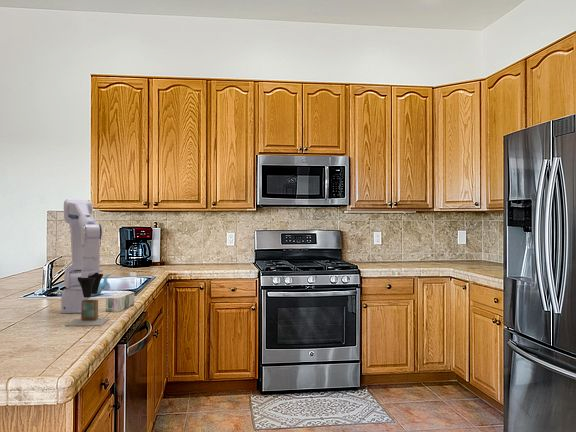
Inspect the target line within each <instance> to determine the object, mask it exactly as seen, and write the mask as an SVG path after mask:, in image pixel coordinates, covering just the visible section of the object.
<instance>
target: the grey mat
mask: <svg viewBox="0 0 576 432" xmlns="http://www.w3.org/2000/svg"><path fill="white" fill-rule="evenodd" d="M109 320H110V318H98V319H97V320H95V321H81V318H74V319H73V320H70V321H69V322H67V323H66V324H64V327H96V326H97V327H99V326H101V327H102V326H103V325H104V324H105V323H107V322H108V321H109Z"/></svg>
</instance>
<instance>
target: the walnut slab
mask: <svg viewBox="0 0 576 432" xmlns="http://www.w3.org/2000/svg"><path fill="white" fill-rule="evenodd" d="M80 315H81V317H80V319H81V321H95V320H97V319H99V299H88V300H82V303H81V313H80Z"/></svg>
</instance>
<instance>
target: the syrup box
mask: <svg viewBox="0 0 576 432" xmlns="http://www.w3.org/2000/svg"><path fill="white" fill-rule="evenodd" d="M134 305H135V291H121V292H120V291H119V292H118V293H115V294H112V295H108V296H106V297H105V312H113V313H114V312H117V313H119V312H121V311H124V310H126V309H128V308H131V307H134Z"/></svg>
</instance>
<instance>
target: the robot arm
mask: <svg viewBox="0 0 576 432" xmlns="http://www.w3.org/2000/svg"><path fill="white" fill-rule="evenodd" d="M92 213H93V202H92V201H91V200H90V199H88V200H87V199H85V200H84V199H80V200H79V199H65V200H64V202H63V219H64V222H66V223H67V224H69V229H70V247H71V251H70V252H71V264H70V265H69V266H67V267H66V268H65V270H64V277H63V281H64V283H63V284H64V287H65V288H64V289H62V291H61V299H60V300H61V302H60V303H61V304H60V307H61V308H60V314H81V303H82V300H90V299H89V298H91V297H92V296H91V294H97V292H98V288H99V284H101V280H102V279H103V278H104V277H103V276H104V273H103V272H104V270H103V269H101V267H100V258H101V257H100V256H101V253H100V252H101V251H100V250H101V245H100V243H101V240H102V237H103V227H102V224H101V223H97V221H96V219H95V217H94V215H92Z"/></svg>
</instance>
